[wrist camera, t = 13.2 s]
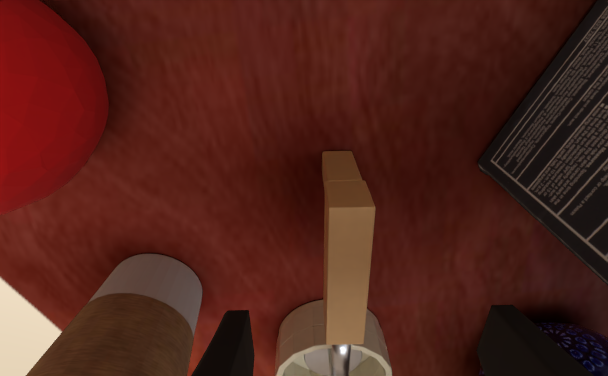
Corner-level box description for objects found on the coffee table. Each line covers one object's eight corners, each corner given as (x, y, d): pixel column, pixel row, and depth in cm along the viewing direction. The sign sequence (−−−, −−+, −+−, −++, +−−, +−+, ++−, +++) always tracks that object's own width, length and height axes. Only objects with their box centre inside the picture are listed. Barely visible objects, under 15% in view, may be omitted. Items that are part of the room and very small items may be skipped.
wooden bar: (357, 358, 26) (373, 451, 21) (304, 360, 26) (305, 452, 21) (374, 149, 19) (404, 206, 14) (299, 151, 19) (299, 208, 14)
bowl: (396, 308, 25) (410, 354, 22) (361, 373, 29) (369, 421, 25) (291, 290, 24) (290, 335, 21) (269, 360, 28) (265, 407, 24)
